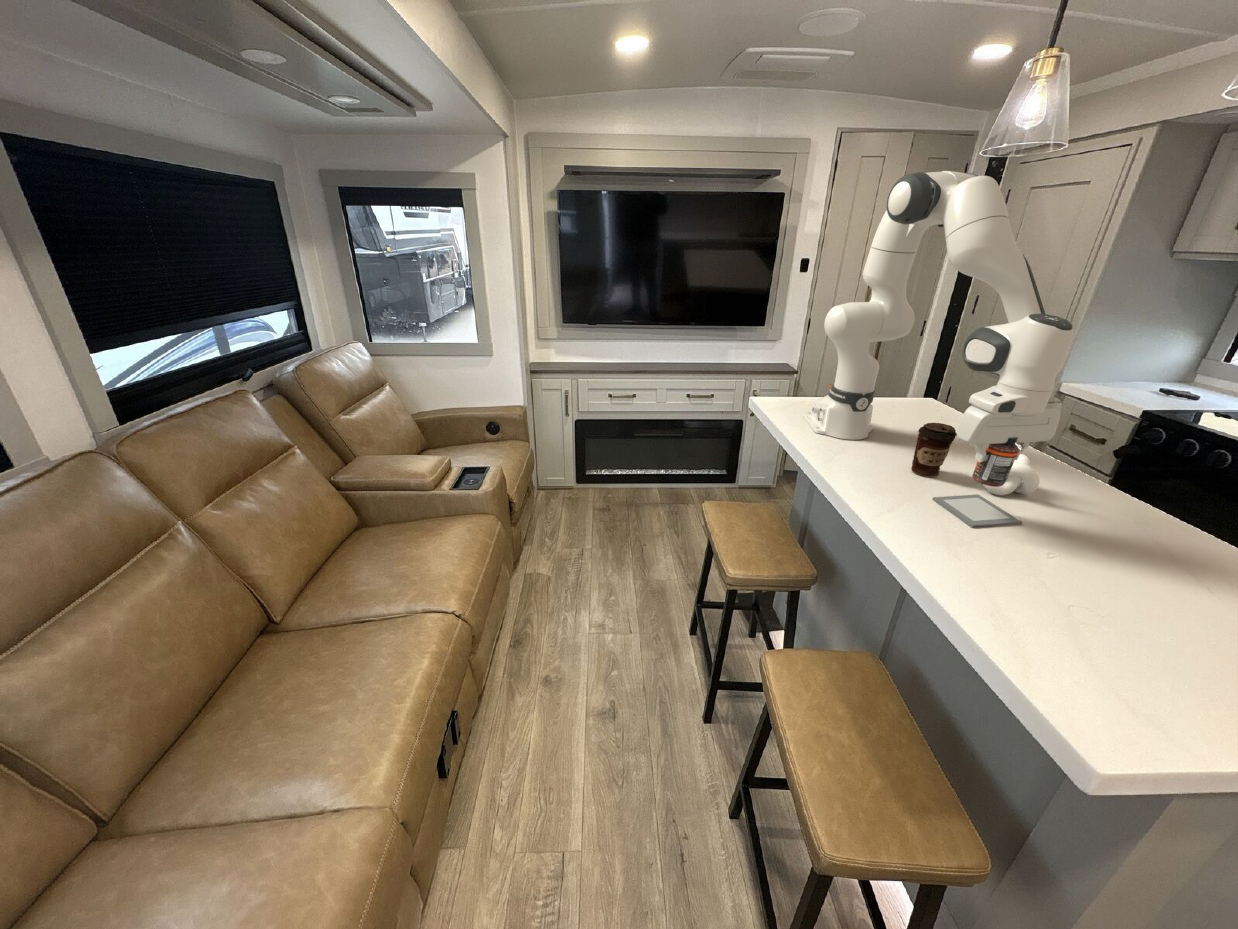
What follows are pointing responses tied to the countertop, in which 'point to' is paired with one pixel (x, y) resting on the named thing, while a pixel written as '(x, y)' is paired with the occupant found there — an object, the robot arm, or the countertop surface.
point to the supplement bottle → (997, 463)
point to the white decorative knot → (1018, 479)
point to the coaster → (976, 511)
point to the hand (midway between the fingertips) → (995, 460)
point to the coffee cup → (932, 448)
